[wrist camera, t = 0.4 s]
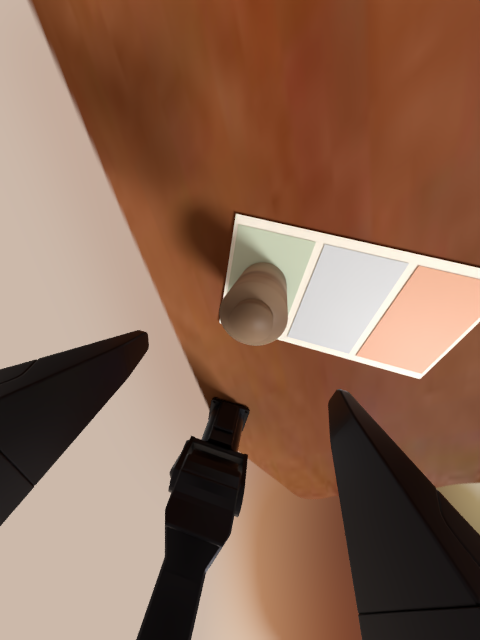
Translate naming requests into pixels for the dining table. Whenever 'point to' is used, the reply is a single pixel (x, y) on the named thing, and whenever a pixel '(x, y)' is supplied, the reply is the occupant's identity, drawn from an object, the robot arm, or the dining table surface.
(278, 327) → the walnut pawn
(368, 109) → the dining table surface
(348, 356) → the game board
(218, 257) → the dining table surface
